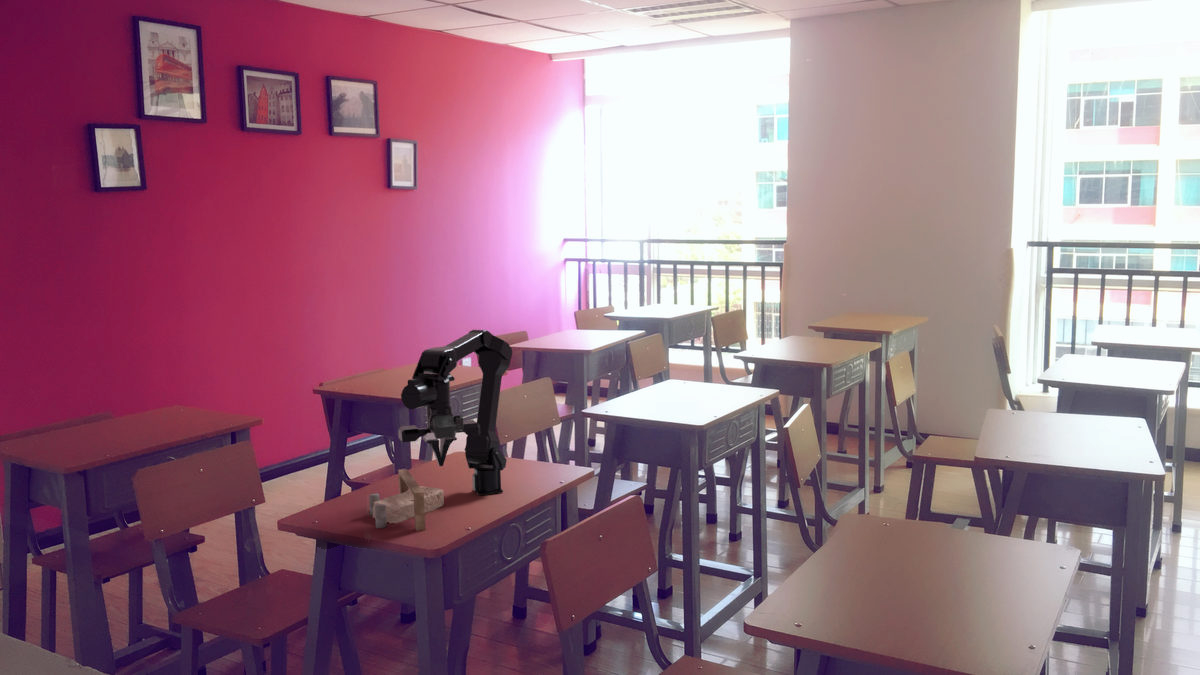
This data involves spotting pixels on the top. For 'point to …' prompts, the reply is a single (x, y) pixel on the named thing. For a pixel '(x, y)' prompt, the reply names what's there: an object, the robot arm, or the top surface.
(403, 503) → the brick
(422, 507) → the shelf frame
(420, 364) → the robot arm
